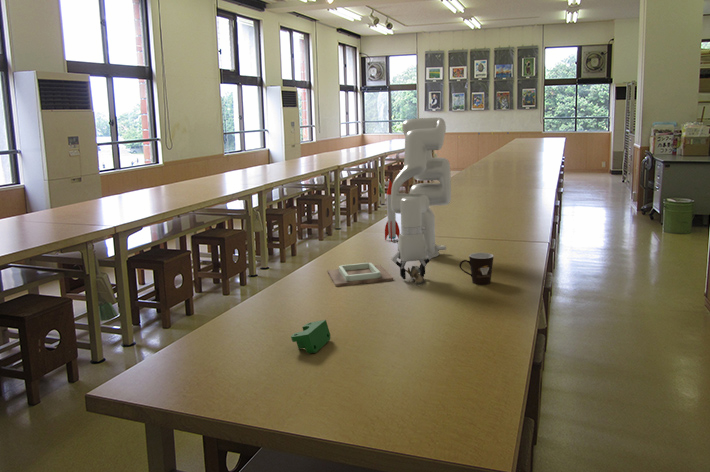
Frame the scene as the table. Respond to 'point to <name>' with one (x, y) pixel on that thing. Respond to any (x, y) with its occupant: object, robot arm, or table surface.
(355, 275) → the jig board
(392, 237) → the toy rocket
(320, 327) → the clamp
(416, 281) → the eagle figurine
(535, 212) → the table surface
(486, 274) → the coffee mug
